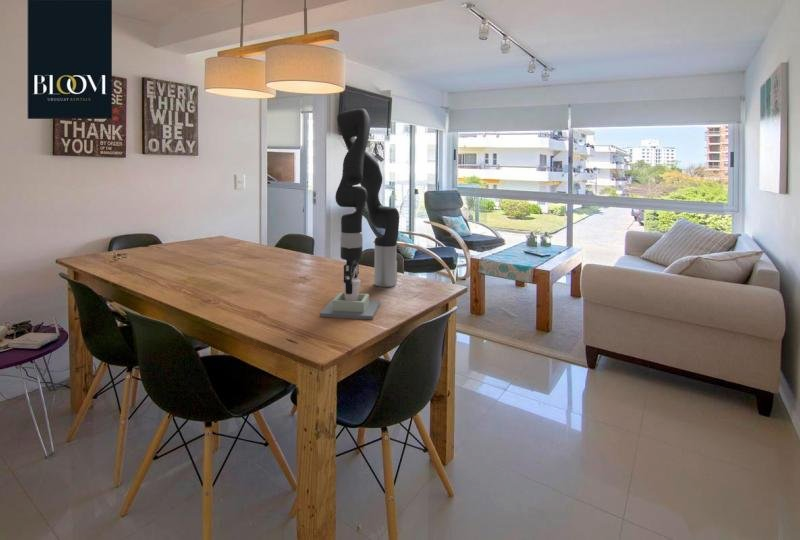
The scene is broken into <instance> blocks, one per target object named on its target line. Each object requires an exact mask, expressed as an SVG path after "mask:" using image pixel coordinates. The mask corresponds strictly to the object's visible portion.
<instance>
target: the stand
mask: <svg viewBox="0 0 800 540" xmlns="http://www.w3.org/2000/svg"><path fill="white" fill-rule="evenodd" d="M380 306H381V300H370V293H359V294H358V301H347V300H345V292H339V293H337V295H336V296H335V298H332V299H331V300H330V301H329V302H328V303H327V304H326V305H325V307H324V308H323V309H322V310H321V311H320V312H319V317H322V318H337V319H339V318H340V319H341V318H342V319H357V320H373V319H374V318H375V315H376V314H377V312H378V309H379V307H380Z"/></svg>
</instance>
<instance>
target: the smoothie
mask: <svg viewBox="0 0 800 540" xmlns="http://www.w3.org/2000/svg"><path fill="white" fill-rule="evenodd" d="M347 279H350V278H349V277H348V278H347ZM342 284H343V293H345V300H347V301H358V294H360V285H361V279H360V278H358V277H357V278H353V283H352V294H346V283H344V278H342Z"/></svg>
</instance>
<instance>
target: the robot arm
mask: <svg viewBox="0 0 800 540" xmlns="http://www.w3.org/2000/svg"><path fill="white" fill-rule="evenodd" d="M336 120H337V121H336V122H337V126H338V129H339V132H340V135H341V137H342V140H343V142H344V144H345V146H346V148H347V152H346V153H345V156H344V158H343V163H342V173H341V175H342V176H341V179H340V182H339V184H338V187H337V189H336V191H335V195H334V196H335V197H334V198H335V203H336V204H337V205H338V206H339V207H341V208H356V209H355V211H354V212H352V213H345V214H343V215H342V216H341V217H340V218H341V219H340V240H339V241H340V242H339V243H340V245H339V247H340V259H341V260H344V261H345V262H346V264H344V265H343V279H344V283H346V294H352V283H353V278H357V279H358V277H359V273H360V270H359V265H360V263H359V262H360V260H362V259H363V225H362V224H363V215H364V211H365V207H366V206H367V210H368V214H369V219H370V222H371V224H372V226H373V227H375V228H377V229H381V230H382V229H384V234H382V235H381V236H377V237H375V239H374V270H373V271H374V273H373V275H374V277H373V278H374V281H373V283H374V284H373V285H374V286H376V287H381V288H385V287H386V288H391V287H395V286H396V284H398V283H397V282H398V280H397V279H398V278H397V277H398V261H397V248H398V245H397V244H398V243H397V242H398V238H399V227H400V213H399V210H398V209H397V207H394V206H383V205H382V204H381V201H380V197H379V195H380V192H381V191H380V190H381V187H382V184H383V175H382V172H381V167H380V165H379V162H378V161H377V160H376V158H374V156H373V155H371V154H370V153H369V152H368V151H367V145H368V142H369V141H368V140H369V137H370V131H371V120H370V115H369V113H368V111H367V109H365V108H362V107H361V108H355V109H350V110H346V111H341V112H339V113H338V114H337V117H336ZM357 185H359V186H357ZM347 278H350V279H347Z"/></svg>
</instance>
